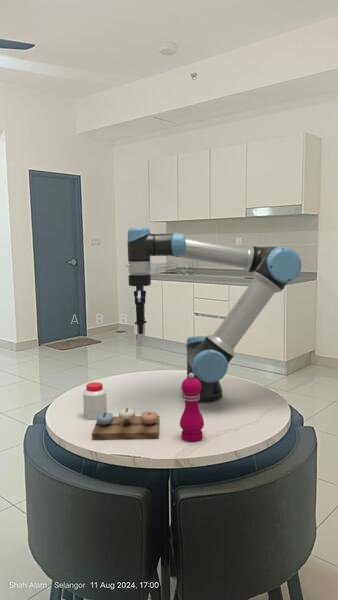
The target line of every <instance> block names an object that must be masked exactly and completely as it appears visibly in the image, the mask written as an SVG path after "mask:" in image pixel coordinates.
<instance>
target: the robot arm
mask: <svg viewBox="0 0 338 600" xmlns="http://www.w3.org/2000/svg"><path fill="white" fill-rule="evenodd" d="M126 242H127V260H128V261H127V262H128V263H127V264H126V268H128V274H129V275H128V277H127V278H128V286H130V287H135V290H134V291H133V296H134V304H135V314H136V315H135V316H136V318H135V319H136V320H135V322H134V325H136V344H145V343H146V324H147V322H148V321H147V320H146V317H145V304H146V297H147V296H146V295H147V291H146V290H145V289H144V287H148V286H150V285H151V284H152V280H151V278H152V276H151V272H152V269H151V266H152V265H151V264H152V263H151V257H174V258H175V257H176V258H183V259H189V260H193V261H199V262H205V263H212V264H218V265H223V266H229V267H235V268H239V269H240V268H241V269H244V270H245V272H248V273H253V280H252V281H251V282H250V283H249V285H248V287H246V289H245V290H244V292H243V293H242V294H241V296H240V298H239V299H238V300H237V301H236V303H235V304H234V305H233V307H232V308H231V310H230V311H229V313H227V315H226V317H225V318H224V320H223V321H222V322H221V323H220V325H219V326H218V328H217V329H216V330H215V331H214V333H213V334H208V335H207V336H205V335H204V336H190V337H187V340H186V344H185V347H186V378H189V377H188V375H189V373H193V374H194V378H196V379H198V380H199V381H200V382H201V386H202V388H201V391H200V392H199V394H200V399H199V401H198V403H211V402H216V401H219V400H221V399H222V398H223V388H222V386H221V383H220V380H222V379H223V378H224V377H225V376H226V374H227V372H228V370H229V369H228V368H229V363H230V362H231V361H232V359H233V358H234V357H235V348H236V346H237V345H238V344H239V343H240V341H241V339H242V338H243V337H244V336H245V334H246V333H247V332H248V330H249V329H250V327H251V326H252V325H253V324H254V322H255V320H256V319H257V318H258V316H259V315H260V313H261V312H262V311H263V309H264V308H265V307H266V305H267V304H268V303H269V301H270V300H271V299H272V297H273V296H274V295H275V294H276V293H281V292H282V291H284V288H285V287H286V286H287V285H288V283H290V282H292V281H294V280H296V278H297V277H299V275H300V273H301V271H302V270H301V269H302V261H301V257H300V256H299V254H298V253H297V251H295V250H294V249H293V248H290V247H287V246H282V245H281V246H254V245H250V246H249V247H246V246H238V245H232V244H226V243H219V242H216V241H209V240H203V239H196V238H190V237H186V236H185V234H184V233H177V232H173V233H151V230H150V228H149V227H132V228H129V229H128V230H127V241H126ZM183 394H184V392H183V391H182V397H184V396H183Z"/></svg>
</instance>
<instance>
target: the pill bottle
mask: <svg viewBox="0 0 338 600" xmlns="http://www.w3.org/2000/svg"><path fill="white" fill-rule="evenodd" d="M85 387H86V388H85V390H84V391H83V392H82V398H83V399H82V401H83V418H84V419H86V420H90V421H97V414H99V413H104V412H108V410H107V407H108V406H107V391H106V389H105V388H103V387H104V386H103V383H101V382H95V381H94V382H90V383H87V384H86V386H85Z"/></svg>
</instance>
